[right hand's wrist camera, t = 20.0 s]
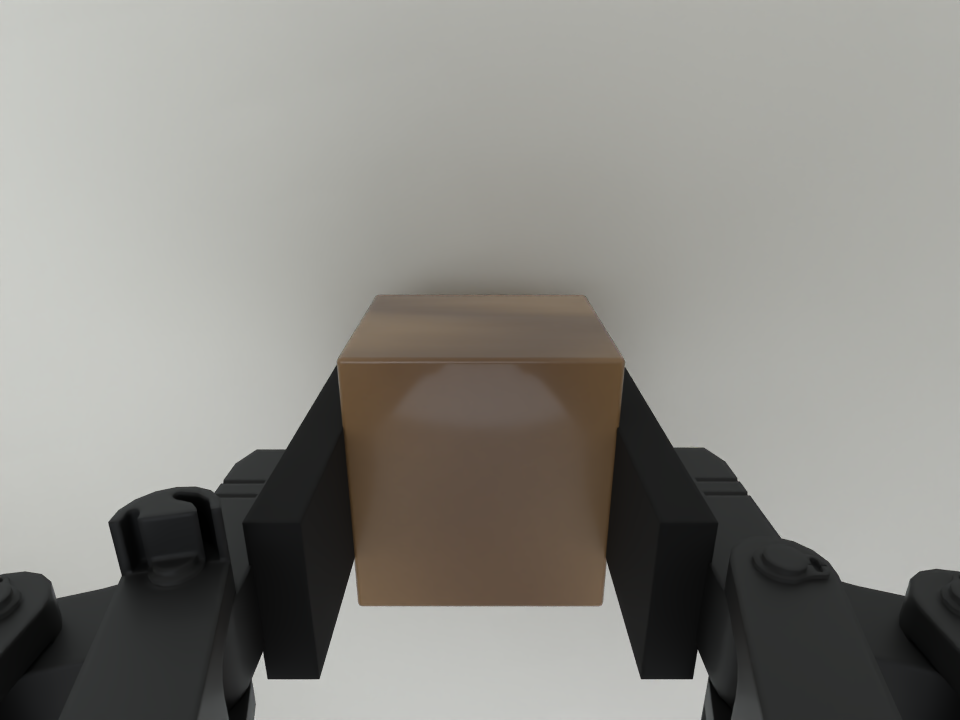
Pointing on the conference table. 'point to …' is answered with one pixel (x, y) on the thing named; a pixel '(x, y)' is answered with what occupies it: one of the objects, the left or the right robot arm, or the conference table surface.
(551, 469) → the brown cardboard box
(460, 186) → the conference table surface
